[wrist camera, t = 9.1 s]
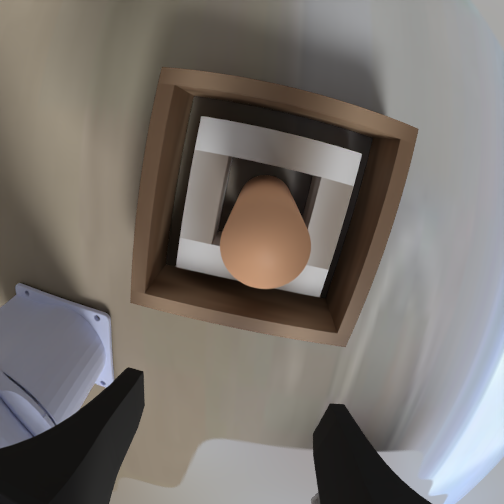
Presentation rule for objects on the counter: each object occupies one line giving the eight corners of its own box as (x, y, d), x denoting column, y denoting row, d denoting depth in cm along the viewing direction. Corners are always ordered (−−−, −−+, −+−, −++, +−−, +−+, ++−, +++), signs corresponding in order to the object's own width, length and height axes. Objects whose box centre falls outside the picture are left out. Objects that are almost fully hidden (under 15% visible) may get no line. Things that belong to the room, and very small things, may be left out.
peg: (234, 220, 18) (213, 278, 11) (245, 169, 17) (229, 193, 10) (284, 231, 18) (297, 296, 11) (297, 181, 17) (321, 214, 10)
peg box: (153, 272, 20) (130, 302, 16) (183, 81, 16) (161, 66, 12) (332, 310, 20) (345, 347, 16) (388, 129, 16) (418, 129, 12)
